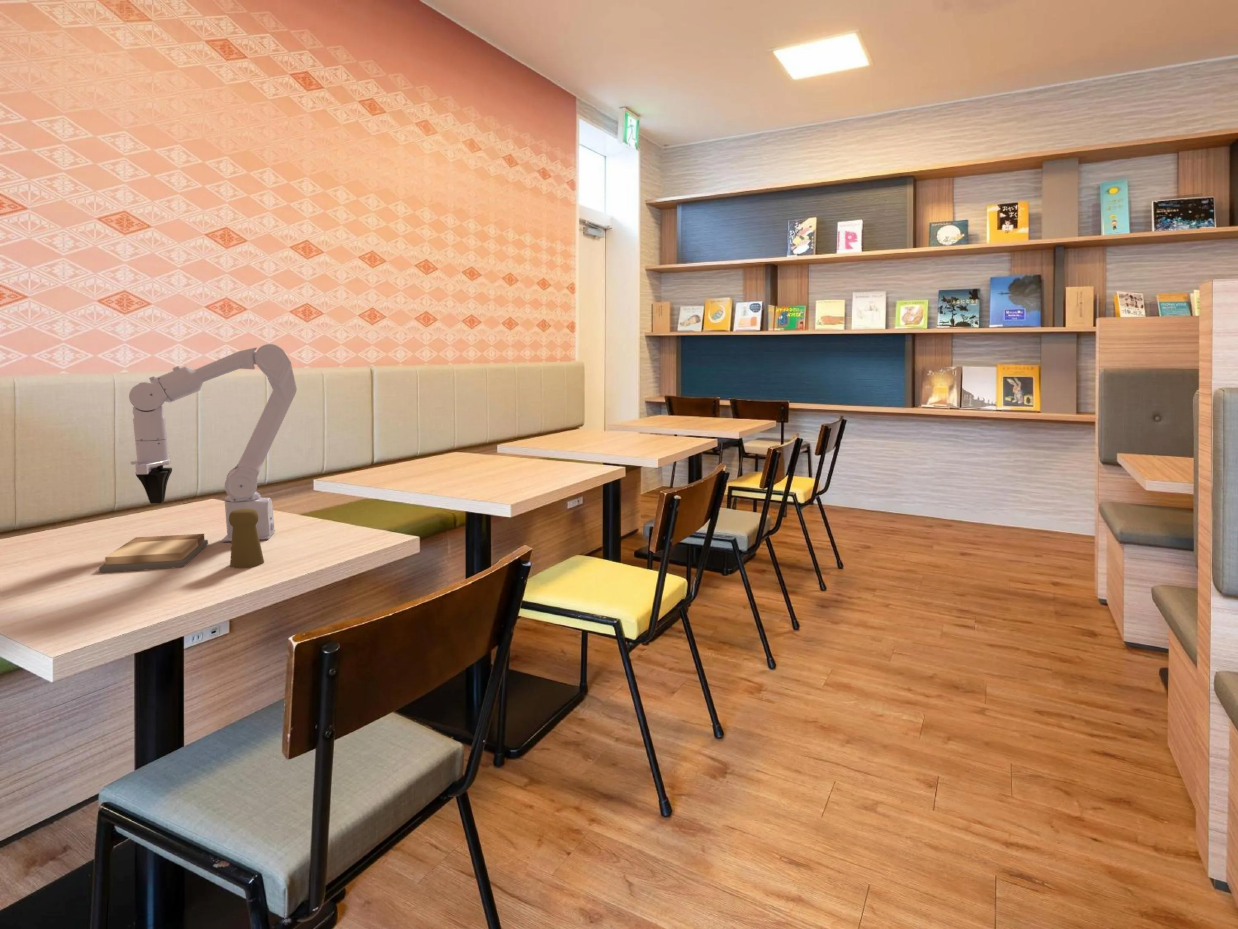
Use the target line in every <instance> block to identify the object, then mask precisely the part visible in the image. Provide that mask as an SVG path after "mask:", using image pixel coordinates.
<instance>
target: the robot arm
mask: <svg viewBox="0 0 1238 929" xmlns="http://www.w3.org/2000/svg"><path fill="white" fill-rule="evenodd" d="M255 365H256V366H257V367H258V368H259V370H260V371H261V372H262V373H263V374H264V375H265V376H266V377H267V380H268V382H269V384H270V385H269V386H270V387H271V388H272V392H271V394H270V395H269V398H268V400H267V403H266V404H265V406H264V409H263V411H262V412H261V415H260V417H259V419H258V421H257V423H256V425H255V428H254V429H253V432H252V433H251V435H250V438H249V440H248V442H247V444H246V447H245V449H244V451H243V453H242V454H241V457H240V458H239V461H238V463H237V464H236V466H234V468H231V469H230V470H229V471H228V473H227V475H226V478H225V479H226V480H225V482H224V491H225V492H226V494H227V496H225V497H224V499H223V500H224V509H225V510H224V511H225V523H226V534H227V535H225V536H224V537H223V538H222V539H221V542H223V543H227V542H232V531H233V527H232V526H231V525H230V522H229V515H230V513H231V512H232V511H234V510H237V509H242V508H250V509H254V510H256V511H257V512H258V516H259V519H258V522H257V524H256V527H257V532H258V536H259V541H260V540H261V541H262V540H269V539H270V538H271V537H272V536H273V535H274V533H275V532H276V529H275V519H274V506H273V501H272V498H270V497H262V496H261V493H259V492H258V491H257V490H258V476H259V474H260V472H261V469H262V467H263V464H264V462H265V460H266V458H267V455H268V453H269V451H270V448H271V447H272V446H273V445H272V444H273V443H274V440H275V438H276V436H277V434H278V432H279V431H280V427H281V425H282V423H283V421H284V419H285V417H286V415H287V413H288V411H289V408H290V407H291V404H292V403H293V400H294V398H295V396H296V394H297V384H296V380H295V375H294V371H293V366H292V362H291V359H290V358H289V356H288V355H287V353H286V351H285V350H284V349H283V348H282V347H280V346H279V345H276V344H274V343H268V344H267V343H266V344H263V345H261V346H260V347H259V348H258V347H252V348H248V349H243V350H239V351H237V352H234V353H231V354H229V355H226V356H224V357H222V358H219V359H217V360H215V361H212V362H210V363H207V364H205V365H203V366H201V367H198V368H193V367H189V366H187V365H185V366H182V367H181V366H180V365H177V366H174V367H173V368H172V371H170V372H167V373H164V374H162V375H160V376H157V377H156V376H155V375H153V376H150V377H149V378H148V379H149V381H150V382H147V381H145V382H138V384H136V385H134V386H133V387H132V388H131V389H130V392H129V394H128V399H129V402H130V404H131V405H132V415H133V418H132V422H133V431H134V432H133V434H134V441H135V444H134V445H135V452H136V460H135V459H134V460H131V461H130V465H135V476H136V477H137V479H138V480H139V481H140V483H141V484H142V486H143V488H144V490H145V493H146V496H147V499H148V501H149V504H162V503H164V502H165V499H166V492H167V487H168V482H169V479H170V476H171V475H172V472H173V468H172V467H164V466H166V465H167V466H168V465H170V464H171V458H170V455H169V446H168V433H167V425H166V424H167V422H166V417H165V413H164V406H163V405H164V404H165V402H166V403H172V402H175V401H177V400H181V399H183V398H185V397H188V396H191V395H194V394H196V393H197V392H200V391H201V389H202V386H203V384H204V382H207V381H210V380H212V379H213V380H214V379H216V378H218V377H220V376H223V375H227V374H229V373H232V372H235V371H237V370H241V369H244V370H255V368H256V367H255Z"/></svg>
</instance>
